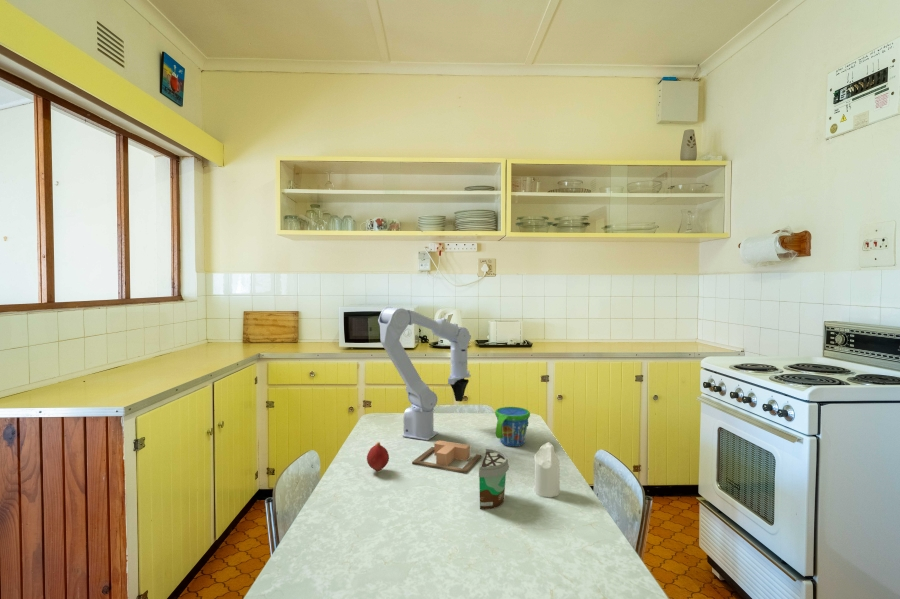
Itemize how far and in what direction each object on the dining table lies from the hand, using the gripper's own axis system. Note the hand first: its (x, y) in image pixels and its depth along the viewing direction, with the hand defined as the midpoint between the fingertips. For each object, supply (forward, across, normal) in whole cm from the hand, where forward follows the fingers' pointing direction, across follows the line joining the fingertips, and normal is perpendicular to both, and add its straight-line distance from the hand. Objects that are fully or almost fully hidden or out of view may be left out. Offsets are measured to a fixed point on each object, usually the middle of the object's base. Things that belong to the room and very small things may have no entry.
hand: (459, 400), depth 160 cm
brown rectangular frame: (+9, -27, -8) cm, 30 cm away
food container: (+10, -45, -28) cm, 54 cm away
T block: (+9, -27, -8) cm, 30 cm away
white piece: (+10, -36, -38) cm, 53 cm away
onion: (+10, -42, +6) cm, 43 cm away
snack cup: (+10, -7, -21) cm, 24 cm away
